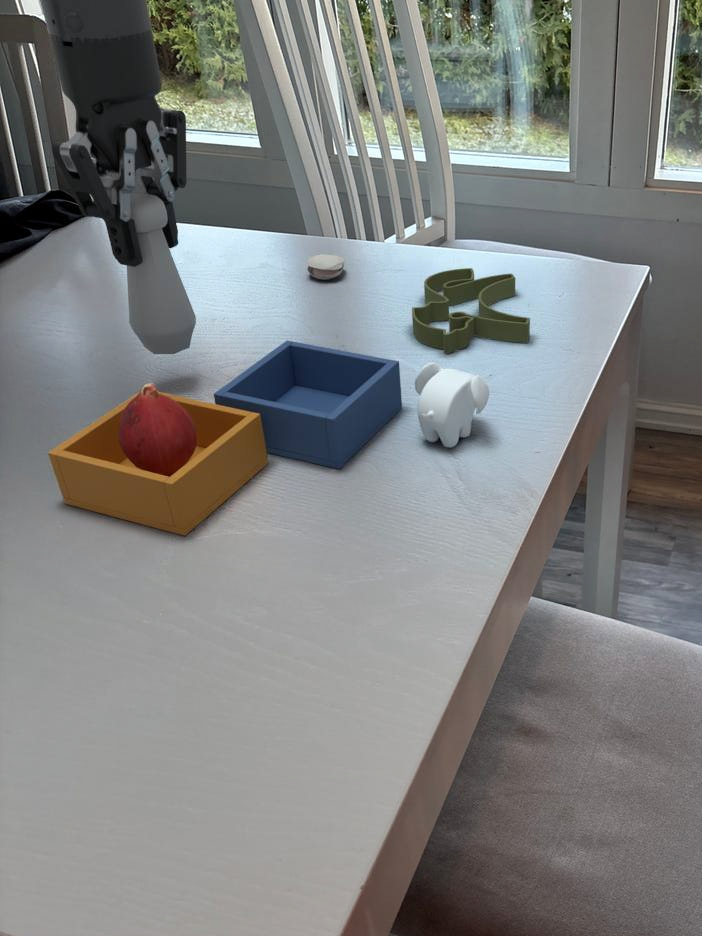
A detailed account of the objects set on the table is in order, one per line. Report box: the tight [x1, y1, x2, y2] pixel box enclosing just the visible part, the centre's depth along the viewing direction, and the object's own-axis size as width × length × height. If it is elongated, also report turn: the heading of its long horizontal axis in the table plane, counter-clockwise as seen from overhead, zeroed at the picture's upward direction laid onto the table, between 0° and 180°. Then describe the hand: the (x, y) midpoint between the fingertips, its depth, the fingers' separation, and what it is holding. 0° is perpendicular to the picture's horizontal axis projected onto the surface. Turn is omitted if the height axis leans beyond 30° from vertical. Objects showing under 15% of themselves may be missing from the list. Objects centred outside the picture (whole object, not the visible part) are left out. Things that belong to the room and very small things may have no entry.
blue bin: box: [213, 340, 403, 470], centre depth 84 cm, size 12×12×5 cm
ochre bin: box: [47, 391, 269, 537], centre depth 77 cm, size 12×12×5 cm
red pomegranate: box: [118, 382, 197, 477], centre depth 75 cm, size 6×6×8 cm
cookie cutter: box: [411, 267, 531, 355], centre depth 102 cm, size 18×12×2 cm, turn 5°
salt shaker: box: [114, 193, 197, 355], centre depth 84 cm, size 6×6×13 cm
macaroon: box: [306, 253, 345, 281], centre depth 112 cm, size 4×5×2 cm
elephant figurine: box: [414, 361, 490, 448], centre depth 82 cm, size 7×8×6 cm
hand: (148, 254), depth 83 cm, fingers closed on salt shaker, 4 cm apart
